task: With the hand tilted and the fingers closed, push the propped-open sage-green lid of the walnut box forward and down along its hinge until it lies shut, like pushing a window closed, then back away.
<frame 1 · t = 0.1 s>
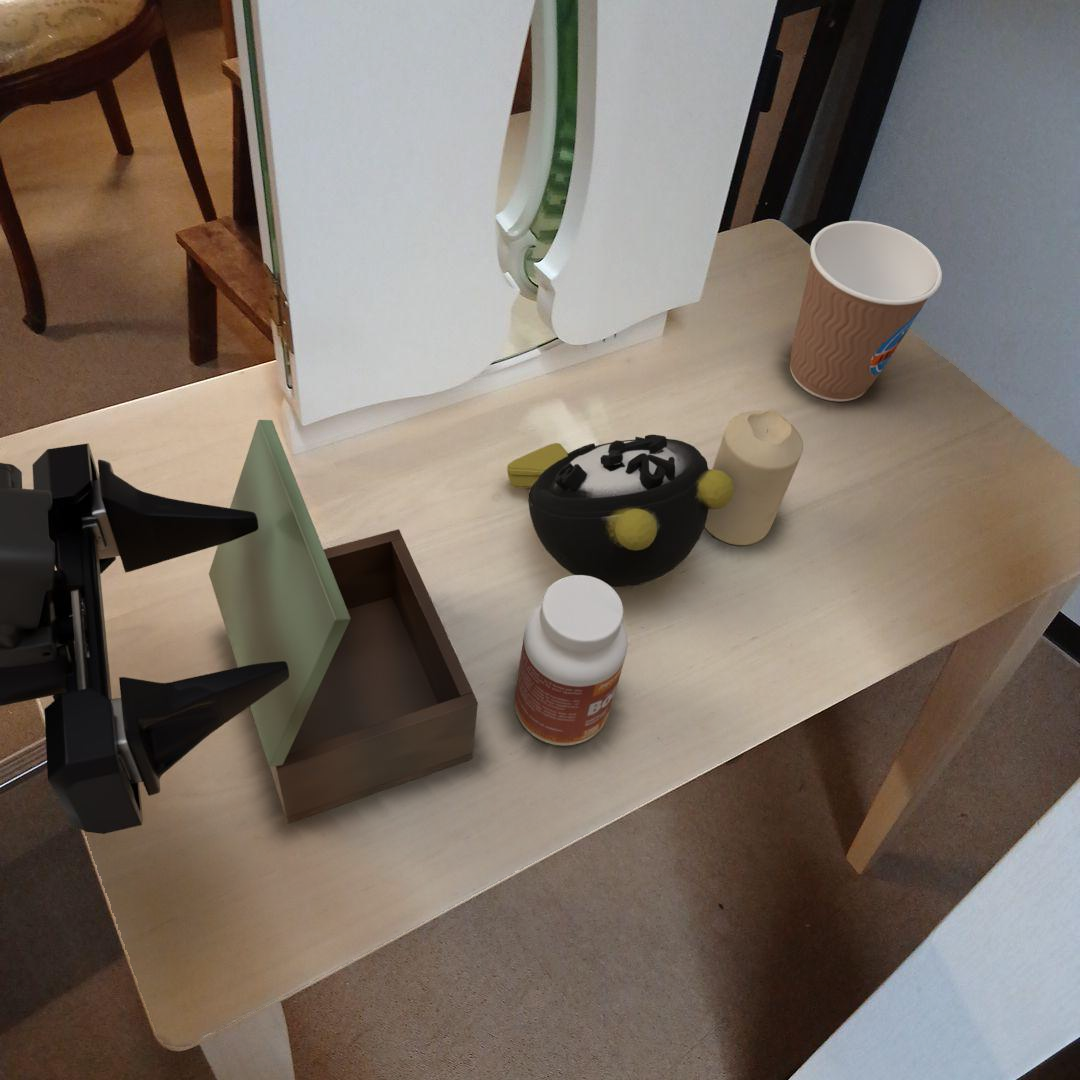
hand: (272, 591, 52), 17 cm above the table, tool horizontal, fingers open, 9 cm apart
chest: (348, 698, 68), on the table
pill bottle: (560, 707, 69), on the table
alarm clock: (598, 546, 78), on the table
coffee cup: (828, 376, 92), on the table
lid: (270, 593, 56), point 13 cm above the table, hinge at 70.0°
candle: (734, 519, 81), on the table
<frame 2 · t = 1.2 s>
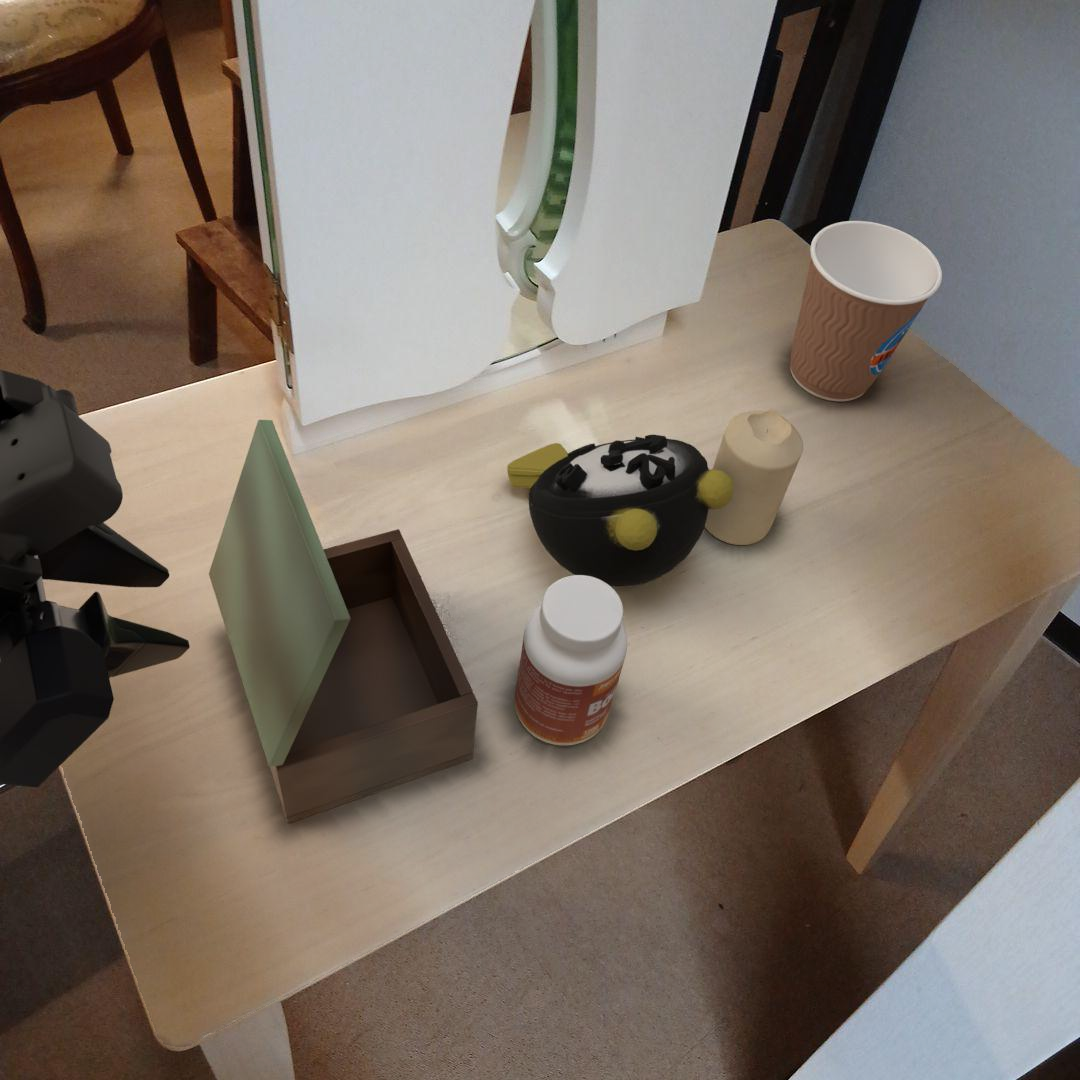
hand: (174, 613, 54), 14 cm above the table, tool tilted 45°, fingers open, 4 cm apart
nothing on the table moved.
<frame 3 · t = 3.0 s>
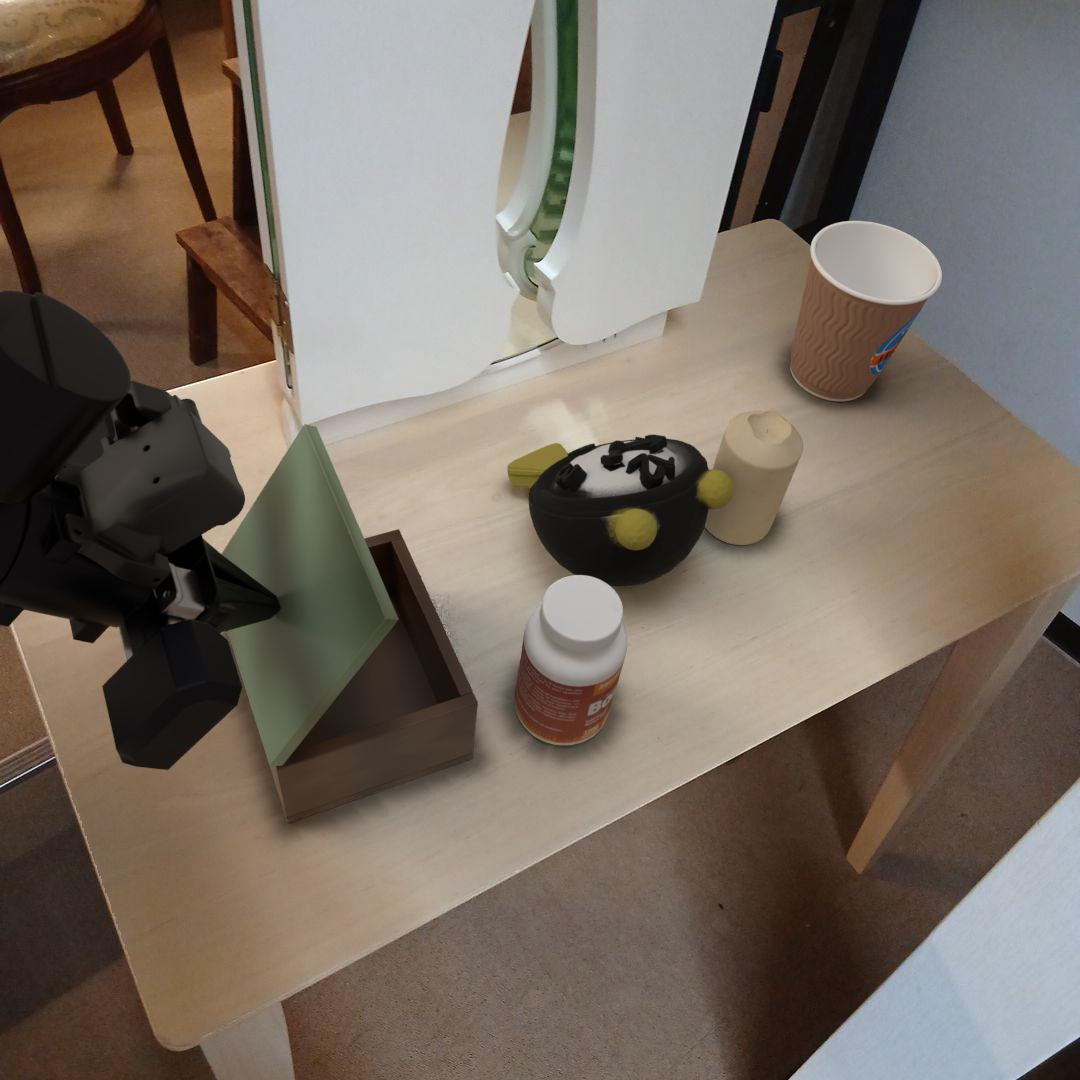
hand: (274, 608, 58), 12 cm above the table, tool tilted 45°, fingers closed, pressing on lid
lid: (293, 593, 57), point 12 cm above the table, hinge at 57.8°, touching gripper
everything else where it was.
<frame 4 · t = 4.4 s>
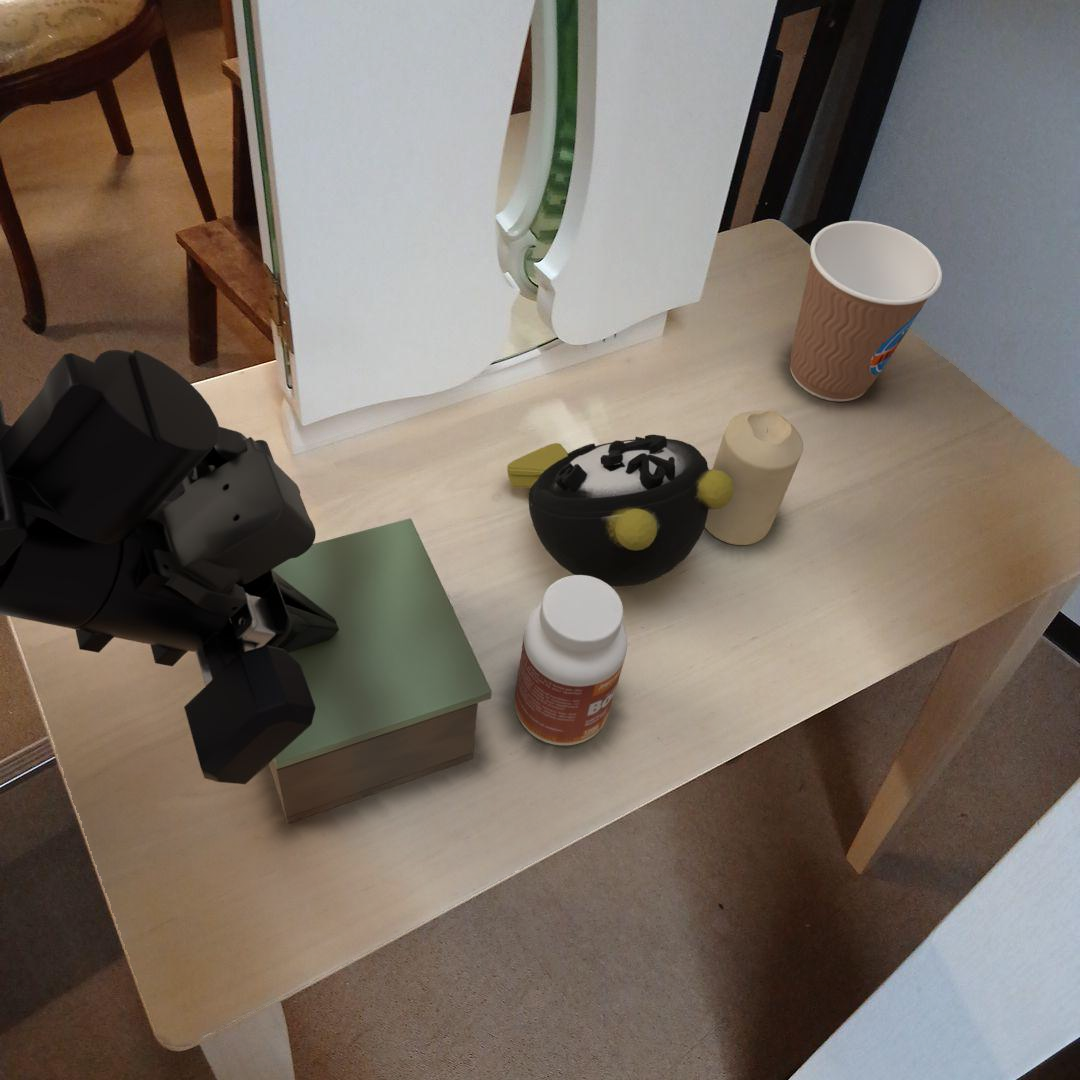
hand: (332, 630, 61), 8 cm above the table, tool tilted 45°, fingers closed, pressing on lid
lid: (349, 632, 62), point 7 cm above the table, hinge at -0.3°, touching chest, gripper
everything else where it was.
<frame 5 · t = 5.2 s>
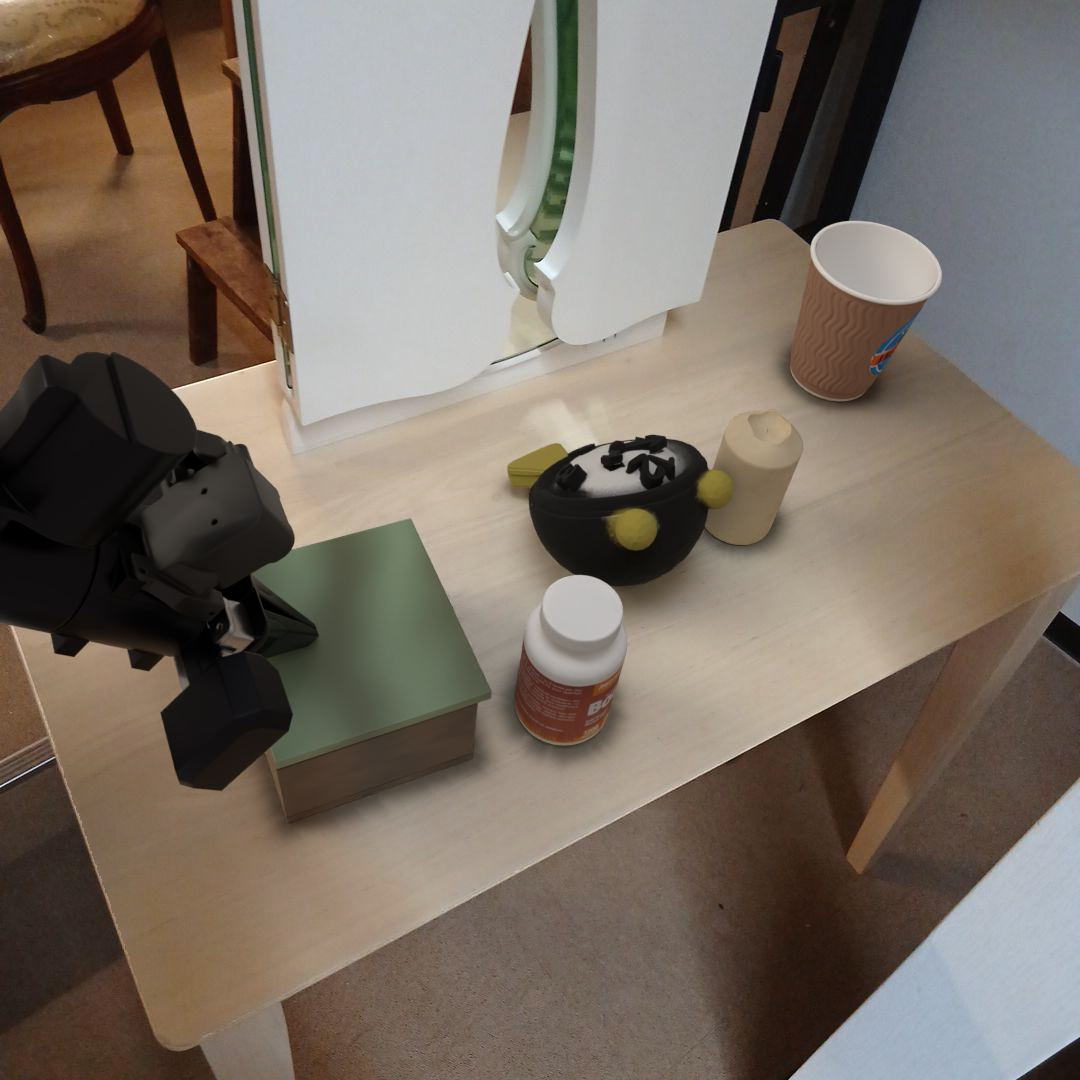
hand: (312, 635, 61), 8 cm above the table, tool tilted 45°, fingers closed
lid: (349, 632, 62), point 7 cm above the table, hinge at -0.3°, touching chest
everything else where it was.
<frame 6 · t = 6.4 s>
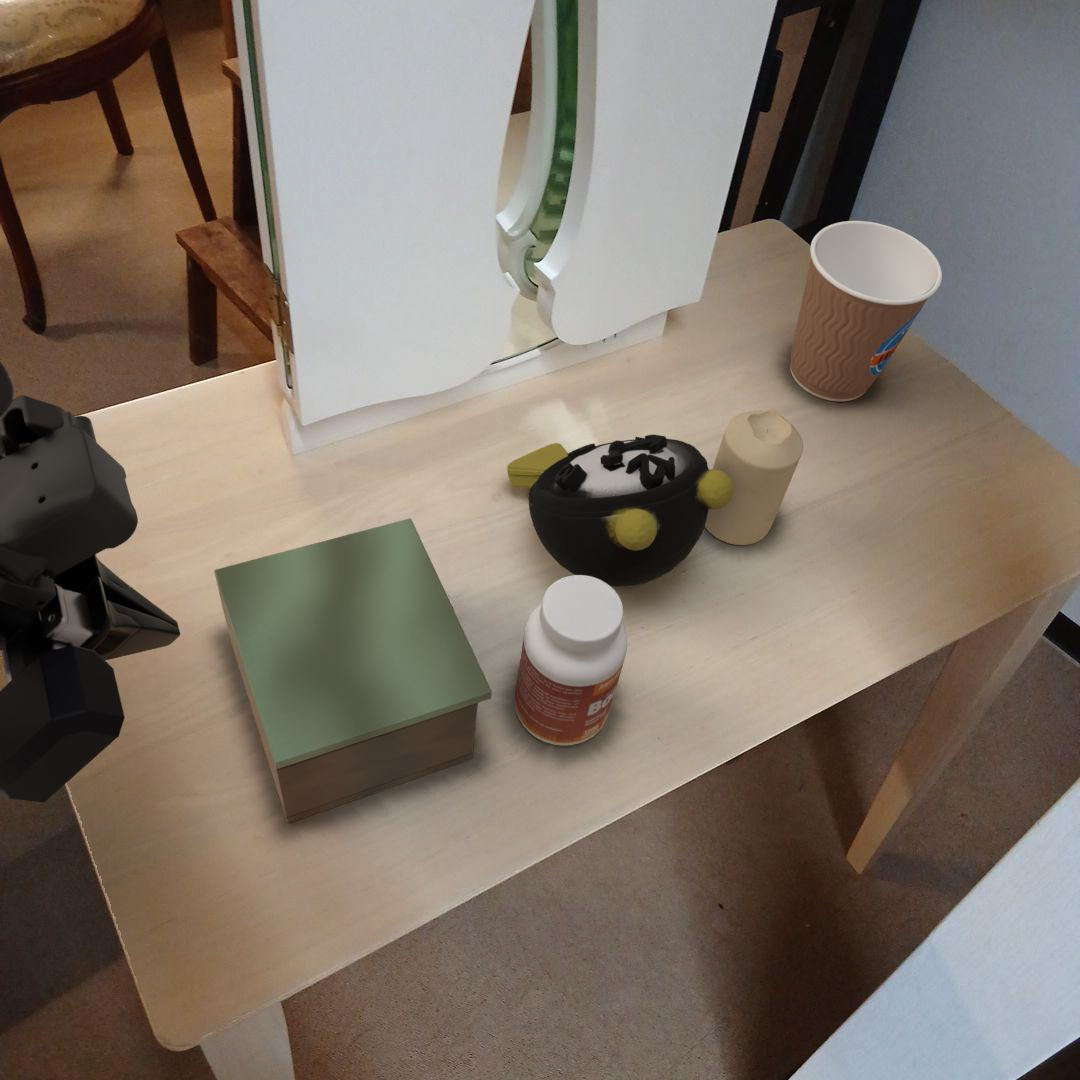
hand: (174, 634, 56), 12 cm above the table, tool tilted 40°, fingers closed
nothing on the table moved.
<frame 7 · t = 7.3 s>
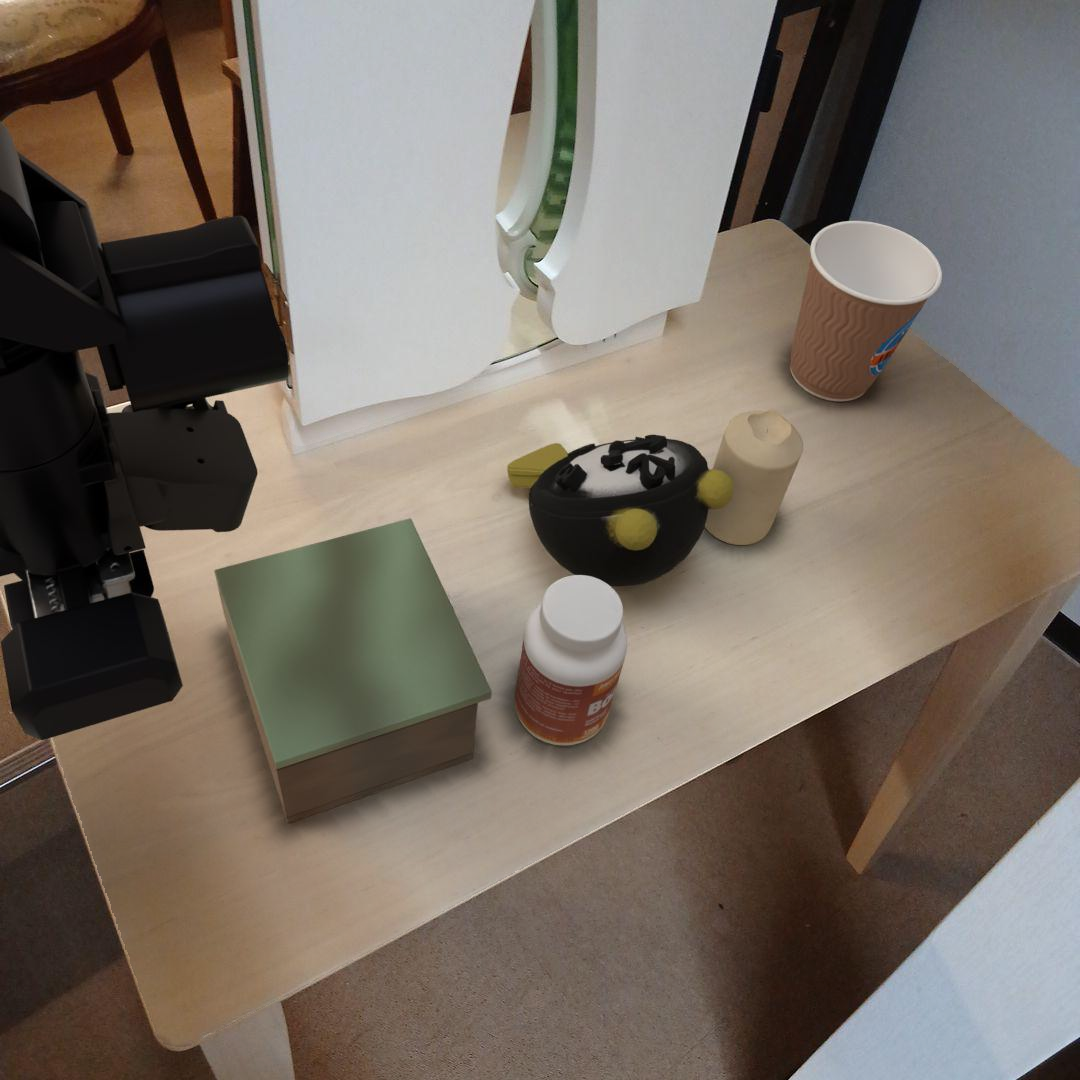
hand: (105, 638, 54), 13 cm above the table, tool pointing down, fingers closed
nothing on the table moved.
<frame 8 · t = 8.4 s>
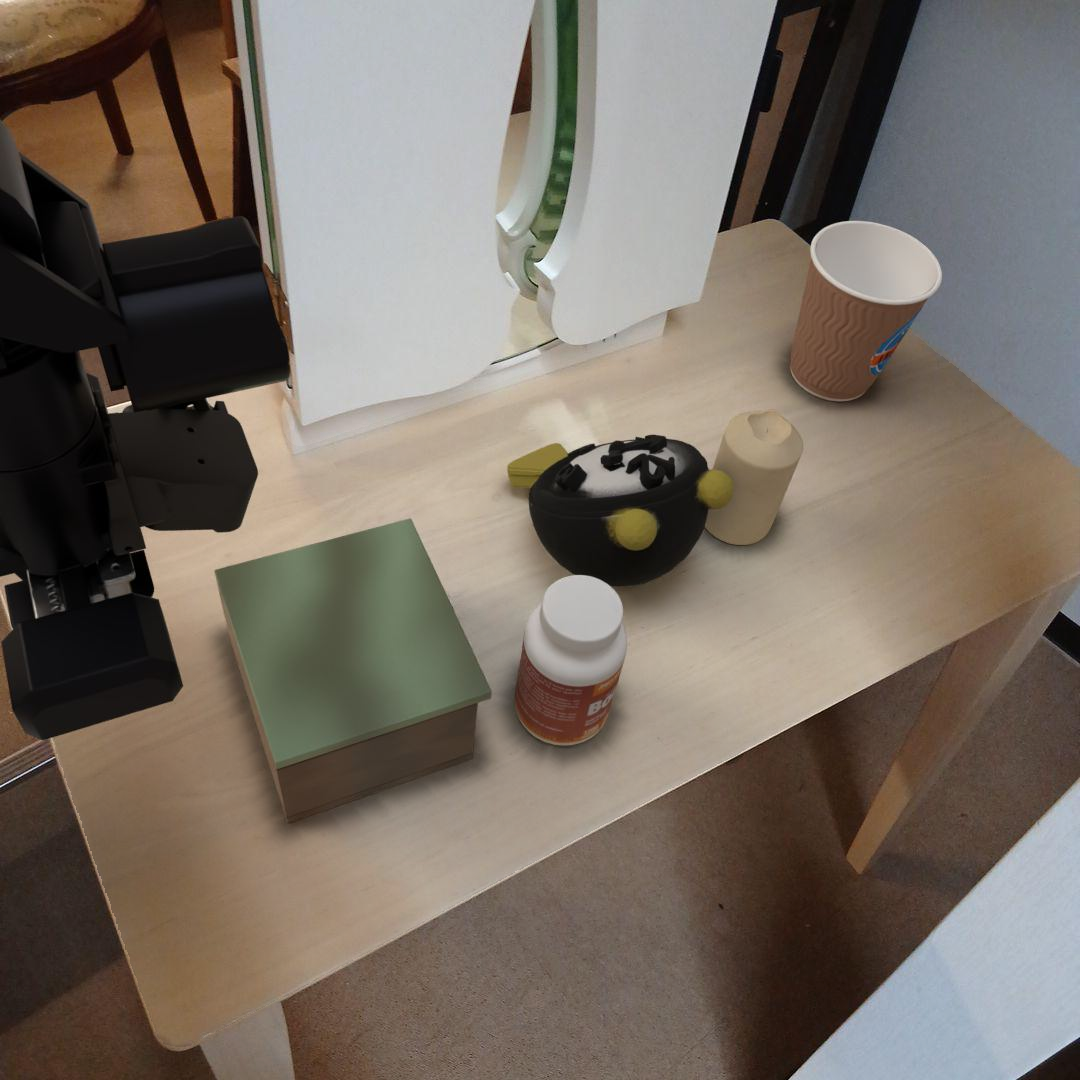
hand: (106, 639, 54), 13 cm above the table, tool pointing down, fingers closed
nothing on the table moved.
at the end: lid at +0° (first picture: +70°); coffee cup moved 0.2 cm from its start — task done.
